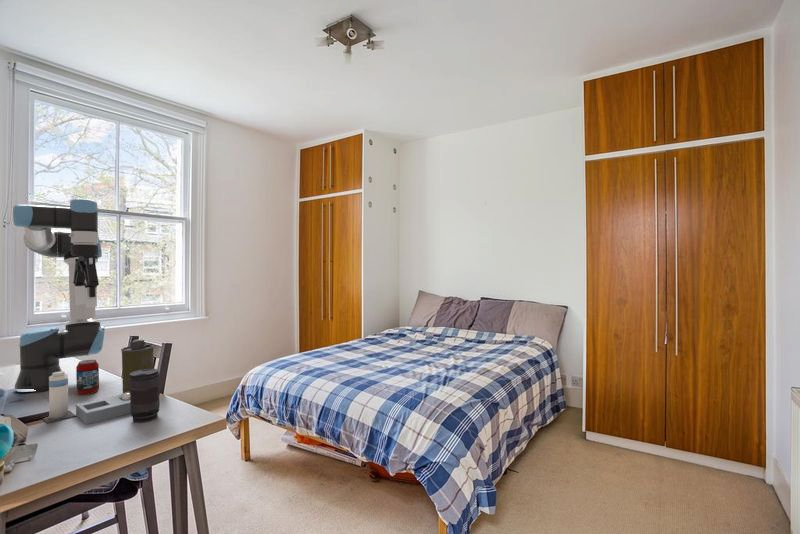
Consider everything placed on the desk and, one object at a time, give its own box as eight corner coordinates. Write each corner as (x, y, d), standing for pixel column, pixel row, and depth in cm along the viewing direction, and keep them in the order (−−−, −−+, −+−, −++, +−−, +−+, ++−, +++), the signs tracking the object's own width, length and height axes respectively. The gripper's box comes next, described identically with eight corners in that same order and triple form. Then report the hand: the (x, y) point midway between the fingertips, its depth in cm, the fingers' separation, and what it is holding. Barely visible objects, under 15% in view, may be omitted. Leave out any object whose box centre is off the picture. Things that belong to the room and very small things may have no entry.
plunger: (120, 405, 138) (120, 393, 138) (132, 402, 141) (132, 390, 141) (124, 407, 136) (124, 395, 136) (136, 404, 138) (136, 392, 138)
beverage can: (77, 396, 150) (76, 364, 150) (76, 392, 155) (75, 361, 155) (100, 392, 154) (99, 361, 154) (98, 388, 160) (97, 358, 159)
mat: (42, 418, 130) (42, 416, 130) (69, 411, 135) (69, 410, 135) (47, 423, 125) (47, 422, 125) (75, 416, 131) (75, 415, 131)
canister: (138, 398, 148) (137, 343, 147) (114, 396, 150) (113, 342, 149) (161, 389, 158) (161, 338, 158) (139, 387, 160) (138, 337, 160)
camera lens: (132, 416, 131) (131, 369, 131) (161, 412, 134) (160, 367, 134) (127, 425, 123) (126, 376, 123) (157, 421, 127) (157, 373, 126)
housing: (76, 415, 132) (75, 404, 132) (132, 401, 144) (132, 391, 144) (86, 424, 124) (86, 413, 124) (145, 409, 137) (144, 399, 137)
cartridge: (47, 416, 130) (47, 372, 130) (66, 412, 133) (66, 369, 133) (50, 420, 127) (50, 375, 127) (69, 415, 130) (69, 372, 130)
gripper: (61, 245, 145) (63, 304, 145) (81, 242, 129) (82, 309, 130) (87, 245, 151) (88, 302, 151) (109, 243, 135) (110, 307, 135)
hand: (85, 305), depth 140 cm, fingers open, 13 cm apart
